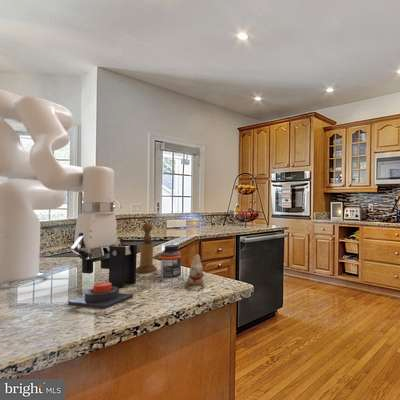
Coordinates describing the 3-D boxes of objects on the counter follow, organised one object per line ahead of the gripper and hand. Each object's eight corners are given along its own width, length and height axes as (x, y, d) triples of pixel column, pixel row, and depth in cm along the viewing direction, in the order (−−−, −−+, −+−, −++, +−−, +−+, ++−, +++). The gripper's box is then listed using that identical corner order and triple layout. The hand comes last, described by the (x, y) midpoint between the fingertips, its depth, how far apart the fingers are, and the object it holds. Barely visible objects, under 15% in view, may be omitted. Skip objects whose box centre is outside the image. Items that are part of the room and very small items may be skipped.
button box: (67, 311, 64) (68, 293, 64) (99, 299, 72) (100, 284, 72) (104, 315, 62) (104, 297, 62) (132, 303, 70) (133, 287, 70)
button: (88, 293, 65) (89, 285, 65) (102, 288, 69) (103, 281, 69) (101, 294, 65) (101, 287, 65) (115, 290, 68) (115, 282, 68)
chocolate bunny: (180, 291, 80) (181, 256, 80) (190, 283, 88) (190, 251, 88) (200, 291, 80) (201, 256, 80) (208, 283, 88) (208, 251, 88)
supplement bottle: (168, 276, 95) (169, 243, 95) (184, 278, 94) (185, 244, 94) (156, 281, 89) (157, 246, 89) (173, 283, 88) (173, 246, 88)
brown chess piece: (147, 278, 93) (148, 223, 93) (130, 276, 94) (132, 223, 94) (160, 273, 99) (162, 222, 100) (145, 272, 101) (146, 222, 101)
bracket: (94, 292, 77) (96, 246, 77) (119, 284, 85) (120, 242, 85) (125, 296, 75) (127, 248, 75) (147, 287, 83) (149, 244, 83)
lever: (86, 265, 80) (84, 257, 80) (102, 262, 84) (100, 254, 85) (121, 256, 77) (119, 247, 77) (135, 253, 82) (133, 245, 82)
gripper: (112, 208, 91) (111, 264, 91) (57, 209, 74) (55, 277, 74) (132, 208, 90) (131, 265, 89) (80, 209, 73) (78, 279, 73)
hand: (97, 270), depth 82 cm, fingers closed on lever, 5 cm apart
